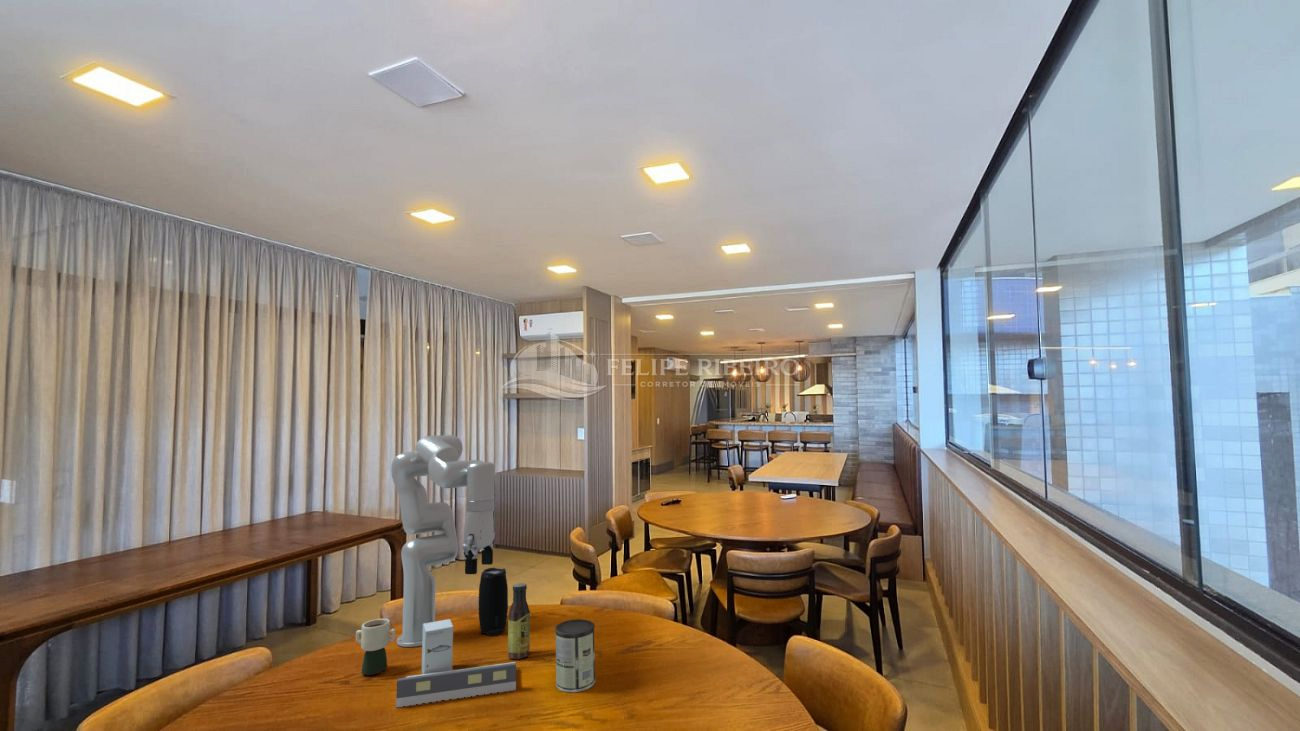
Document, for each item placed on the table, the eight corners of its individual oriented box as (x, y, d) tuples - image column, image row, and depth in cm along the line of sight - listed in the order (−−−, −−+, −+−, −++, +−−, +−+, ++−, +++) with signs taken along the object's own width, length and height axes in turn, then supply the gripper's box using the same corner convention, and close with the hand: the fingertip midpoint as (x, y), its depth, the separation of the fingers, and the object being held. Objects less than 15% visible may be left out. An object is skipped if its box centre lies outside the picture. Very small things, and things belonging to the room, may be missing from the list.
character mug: (400, 665, 149) (401, 617, 151) (388, 677, 142) (389, 626, 144) (361, 666, 149) (363, 619, 150) (347, 678, 142) (349, 628, 143)
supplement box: (423, 681, 139) (424, 631, 141) (421, 670, 146) (422, 622, 147) (452, 674, 143) (453, 626, 144) (449, 664, 149) (450, 617, 151)
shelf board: (405, 684, 138) (405, 675, 138) (515, 669, 145) (515, 661, 145) (395, 707, 126) (396, 697, 126) (515, 689, 133) (515, 680, 133)
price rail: (397, 696, 128) (397, 678, 128) (515, 679, 135) (515, 662, 135) (396, 698, 126) (396, 681, 127) (515, 681, 133) (515, 664, 134)
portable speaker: (480, 628, 176) (481, 567, 179) (509, 626, 177) (509, 566, 180) (476, 638, 168) (476, 574, 170) (506, 635, 169) (506, 572, 171)
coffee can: (567, 671, 142) (566, 617, 144) (601, 676, 139) (600, 620, 141) (547, 689, 133) (547, 631, 134) (584, 695, 129) (583, 635, 131)
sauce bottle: (524, 661, 150) (524, 588, 152) (503, 659, 151) (504, 588, 153) (533, 651, 156) (533, 582, 158) (514, 650, 157) (514, 581, 160)
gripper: (481, 501, 157) (480, 560, 155) (452, 511, 140) (450, 577, 138) (505, 501, 156) (504, 561, 154) (478, 511, 139) (477, 578, 137)
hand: (479, 568), depth 146 cm, fingers open, 9 cm apart
